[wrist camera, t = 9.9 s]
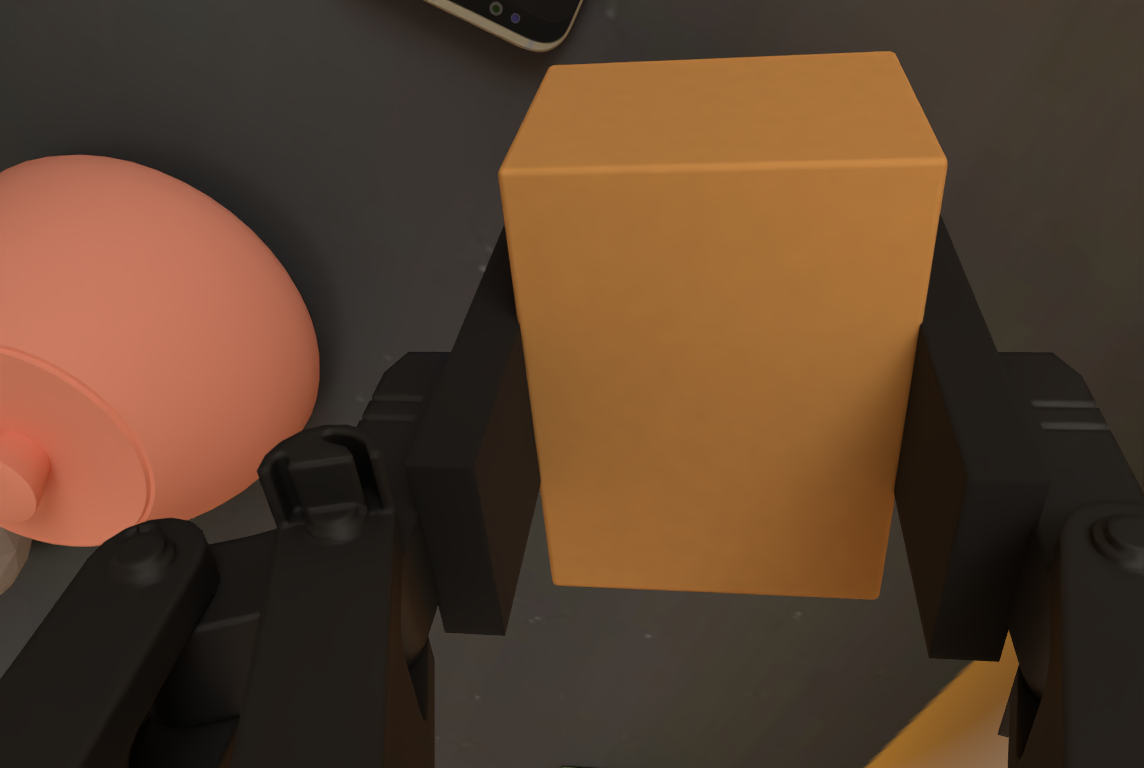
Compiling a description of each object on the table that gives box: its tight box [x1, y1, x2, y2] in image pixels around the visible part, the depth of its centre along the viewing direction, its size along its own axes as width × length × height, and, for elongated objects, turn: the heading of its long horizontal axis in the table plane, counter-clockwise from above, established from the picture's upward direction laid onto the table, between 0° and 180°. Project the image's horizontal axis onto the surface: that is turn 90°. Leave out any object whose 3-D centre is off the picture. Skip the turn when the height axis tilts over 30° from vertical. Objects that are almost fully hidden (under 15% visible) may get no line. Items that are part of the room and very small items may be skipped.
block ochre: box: [498, 51, 948, 599], centre depth 14 cm, size 7×5×4 cm
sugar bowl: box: [0, 155, 320, 547], centre depth 29 cm, size 12×14×10 cm
